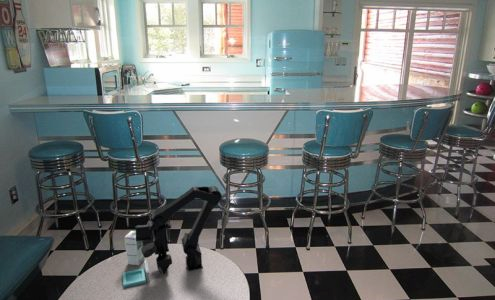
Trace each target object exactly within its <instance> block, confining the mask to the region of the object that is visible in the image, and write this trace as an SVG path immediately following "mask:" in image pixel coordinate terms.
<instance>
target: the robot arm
mask: <svg viewBox="0 0 495 300" xmlns="http://www.w3.org/2000/svg"><path fill="white" fill-rule="evenodd" d="M222 197H223V196H222V193H221V191H220V189H219V188H218V186H216V185H211V186H192V187H191V188H190V189H188V190H187V191H186V192H185V193H183V194H181V195H180V196H179V197H177V198H176V199H175V200H173V201H172V202H170V203H169V204H166V205H162V206H160V207H158V208H156V209H154V210H153V211H152V215H151V217H150V219H149V220H148V222H147V223H148V224H142V225H138V224H137V225H135V231H136V242H139V241H143V242H145V241H150V240H152V241H151V242H150V243H147V244H145V245H143V247H142V248H141V251H142V254H143V256H144V258H145V259H148V258H149V257H152V256H153V255H158V256H157V257H156V258H155V261H156V268H157V267H161V269H162V272H161V273H162V275H166V274H167V272H168V270H169V269H170V268H169V267H170V266H171V265H172V264H173V259H172V255H171V254H168V252H170V248H169V237H168V230H169V229H172V224H171V223H170V222H169V220H170V219H171V218H172V217H173V216H174V215H175V213H177V212H178V211H180V210H181V209H182V208H184V207H185V206H187V205H188V204H190V203H191V202H193V201H194V200H196V199H199V200H202V201H203V204H202V207H201V208H200V211H199V213H198V215H197V216H196V217H197V218H196V219H195V221H194V223H193V225H192V228H191V229H190V231H189V232H188V233H187V232H184V234H183V237H182V238H181V245H182V250H183V254H185V255H186V256H185V266H186V268H187V269H188V271H194V270H199V269H204V268H203V267H204V265H203V262H202V260H203V259H202V258H203V257H202V250H201V247H200V244H199V239H200V236H201V233H202V231H203V229H204V227H205V225H206V223H207V221H208V219H209V217H210V215H211V213H212V211H213V210H214V208H216V207H218V205H219V203H220V202H221V201H222Z"/></svg>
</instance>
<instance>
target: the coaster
mask: <svg viewBox="0 0 495 300" xmlns="http://www.w3.org/2000/svg"><path fill="white" fill-rule="evenodd" d="M122 282H123V283H122V284H123V288H128V287H129V288H130V287H133V286H137V285H143V284H146V283H147V279H146V273H145V267H143V268H138V269H135V270H129V271H124V272H122Z"/></svg>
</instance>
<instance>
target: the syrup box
mask: <svg viewBox="0 0 495 300" xmlns="http://www.w3.org/2000/svg"><path fill="white" fill-rule="evenodd" d="M123 238H124V245H125V253H126V260H127V265H131V266H132V265H133V266H140V264H141V263H142V262H144V260H146V258H145V257H144V256H143V254H142V251H141V248H142V247H143V246H144V241H139V242H136V230H130V231H129V232H128V233H127V234H125V236H124V237H123Z"/></svg>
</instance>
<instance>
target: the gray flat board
mask: <svg viewBox="0 0 495 300" xmlns="http://www.w3.org/2000/svg"><path fill="white" fill-rule="evenodd" d="M143 262H144V265H143V266H144V271H145V278H146V283H149V282H150V281H151V280H150V279H151V278H150V270H149V265H148V258H145V259H144V260H143Z"/></svg>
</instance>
